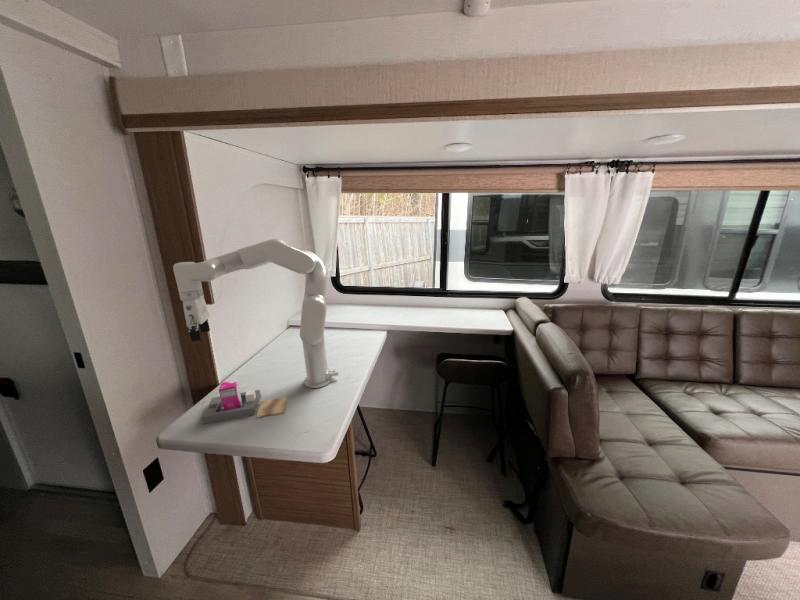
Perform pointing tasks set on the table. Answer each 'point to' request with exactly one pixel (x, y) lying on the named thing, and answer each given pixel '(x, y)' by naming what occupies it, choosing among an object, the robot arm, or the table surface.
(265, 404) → the coaster
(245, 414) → the grey rectangular frame
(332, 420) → the table surface
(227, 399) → the supplement box
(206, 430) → the table surface
